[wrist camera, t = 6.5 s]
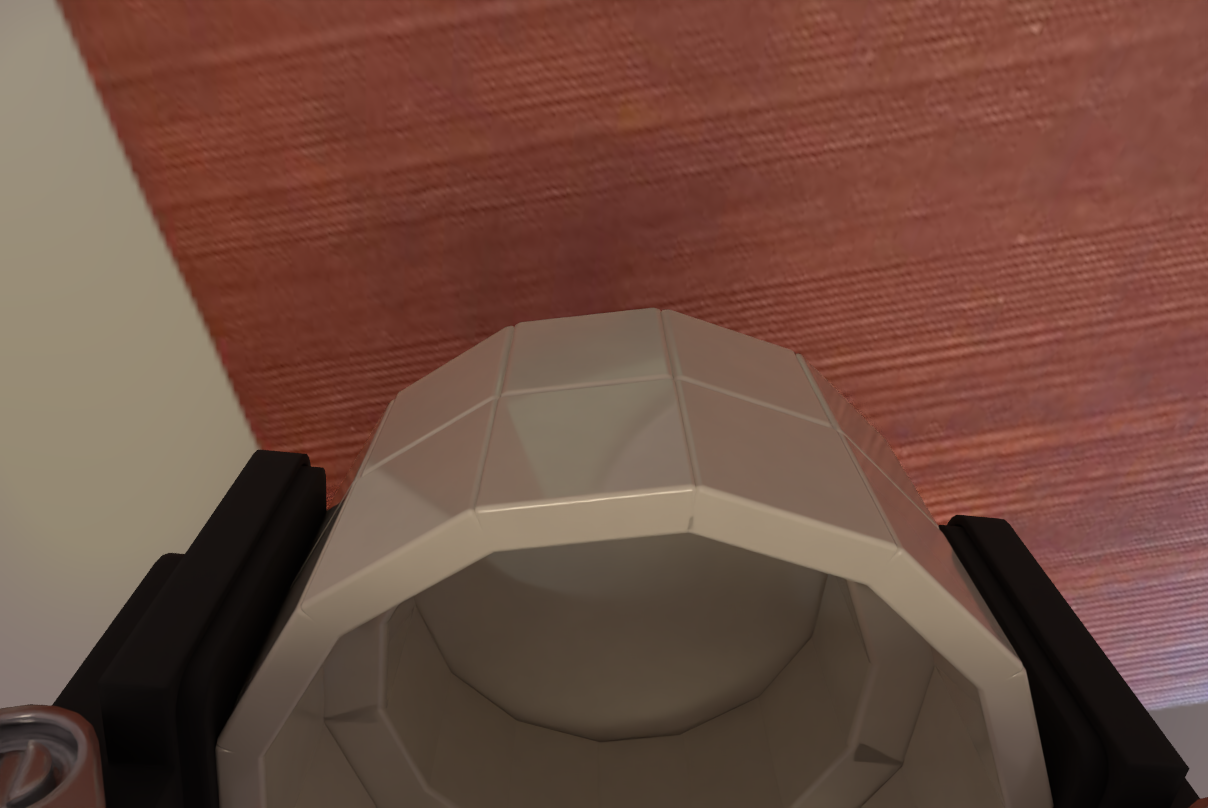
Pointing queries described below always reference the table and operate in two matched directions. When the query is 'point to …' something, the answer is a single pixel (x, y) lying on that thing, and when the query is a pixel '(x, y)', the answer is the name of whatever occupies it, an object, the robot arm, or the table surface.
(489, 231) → the table surface
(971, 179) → the table surface
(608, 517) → the bowl
